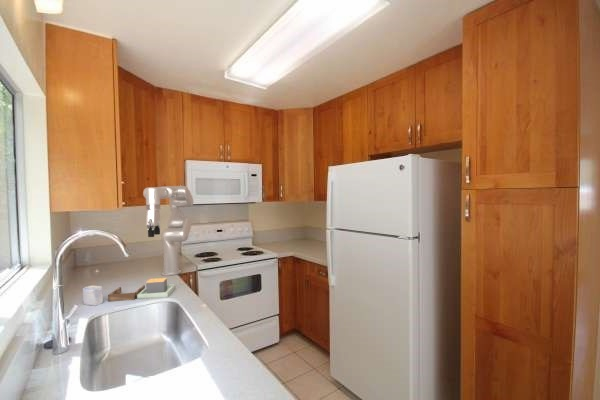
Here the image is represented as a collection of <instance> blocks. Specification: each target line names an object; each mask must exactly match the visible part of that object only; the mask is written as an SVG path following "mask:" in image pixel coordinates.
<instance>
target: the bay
mask: <svg viewBox="0 0 600 400" xmlns="http://www.w3.org/2000/svg"><path fill="white" fill-rule="evenodd" d="M145 288H146V285H144V284H143V285H142V286H141V287H139V289H137V290H135V291H134V292H125V293H122V286H119V287H118V288H116V289H114V290H113V291H112V292H110V293H109V294H107V301H108V302H123V301H136V300H137V295H138V294H139V293H140V292H141V291H142V290H143V289H145ZM135 299H136V300H135Z"/></svg>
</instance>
